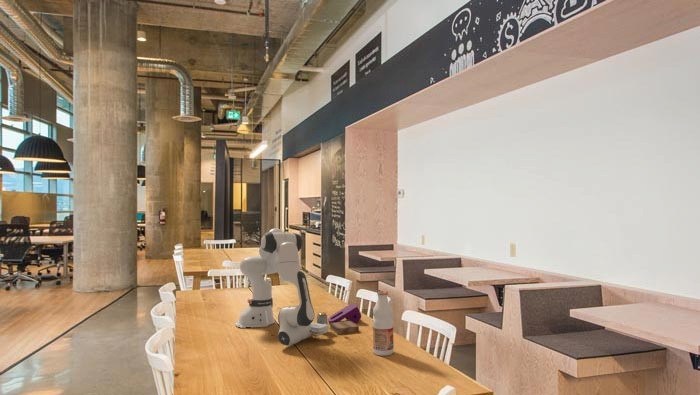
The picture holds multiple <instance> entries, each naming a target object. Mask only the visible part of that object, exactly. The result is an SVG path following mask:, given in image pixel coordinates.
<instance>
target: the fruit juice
mask: <svg viewBox="0 0 700 395" xmlns="http://www.w3.org/2000/svg"><path fill="white" fill-rule="evenodd" d="M376 295H377V301H376V303H375V305H374V307H373V308H372V314H373V320H372V351H373V354H375V355H377V356H381V357H383V356H391V355H392V354H394V320H393V318H392V317H393V314H394V313H393V312H394V309H393V307H392V306H391V305H390V303H389V300H388V295H389V292H388V291H386V290H380V291H379V290H378V291H377V294H376Z"/></svg>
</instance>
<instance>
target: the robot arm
mask: <svg viewBox="0 0 700 395" xmlns="http://www.w3.org/2000/svg"><path fill="white" fill-rule="evenodd" d="M302 247H303V239H302V236H301V235H300V234H299V233H296V232H292V233H291V232H284V231H283V230H282V229H280V228H276V227H275V228H272V229H270V230H269V231H268V232H265V233H264V234H263V235H262V236H261V239H260V246H259V248H258V253H259V255H256V256H249V257H245V258H243V259H242V260H240V263H239V269H240V272H241V274H242V275H244V276H245V277H246V278H247V279H248V280H249V282H250V284H251V290H252V291H251V292H252V298H251V299H250V298H248V299H247V300H246V301H247V303H248V306H247V307H246V308H245V309H243V310H242V311H241V313H240V314H239V317H238V320H236V321H235V322H234V324H235V327H236V326H237V327H236V328H238V327H240V328H239V329H246V327H251V328H265V327H269V326H271V325H273V324H274V323H275V317H274V311H273V307H274V300H273V297H272V296H273V291H272V290H273V289H272V288H273V287H272V284H271V283H270V282H269V281H268V280H265V279H264V276H265V275H273V274H276V273H277V274H278V276H279V278H280V279H281V280H283V281H286V282H288V283H291V284H293V285H294V286H295V288H296V290H297V295H298V301H299V302H298V303H299V304H298V305H291V306H284V307H282V308H281V309H279V312H278V315H277V320H278V325H279V331H278V333H277V339H278V341H279V343H280V344H281V345H283V346H292V345H296V344H297V343H299V342H300V341H304V340H306V339H308V338H309V337H310V336H311V335H318V336H320V335H323V334H326V333H328V332H329V324H327V325H326V323H323V324H319V323H317V322H314V320H315V311H314V308H313V305H312V301H311V295H310V290H309V285H308V281H307V280H308V279H307V276H306V274H305V273H304V272H303V271H302V269H301V264H300V253H299V252H300V251H301V250H302Z"/></svg>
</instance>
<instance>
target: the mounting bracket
mask: <svg viewBox="0 0 700 395" xmlns="http://www.w3.org/2000/svg"><path fill="white" fill-rule="evenodd" d="M361 318H362V313H361V311H360V309H359V307H358V306H357V305H356V304H355V303H352V302H351V303H350V304H348V305H347V306H345V307H343V308H341V309H340V310H338V311H336V312H335V313H332V314H331V315H330V316H329V317H327V323H328V324H330V323H336V322H342V320H344V319H345V320H346V321H351V322H353V323H355V324H357V323H359V322H360V321H361Z"/></svg>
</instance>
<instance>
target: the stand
mask: <svg viewBox="0 0 700 395" xmlns="http://www.w3.org/2000/svg"><path fill="white" fill-rule="evenodd" d="M329 324H330V326H329V328H330V330H332V331H333V332H334V333H336V335H345V334H351V333H352V334H353V333H359V332H360V331H359V330H360V329H359V328H360V326H359V325H357V323H353V322H351V321H349V320H346V321H339V322H336V323H329Z"/></svg>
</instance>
